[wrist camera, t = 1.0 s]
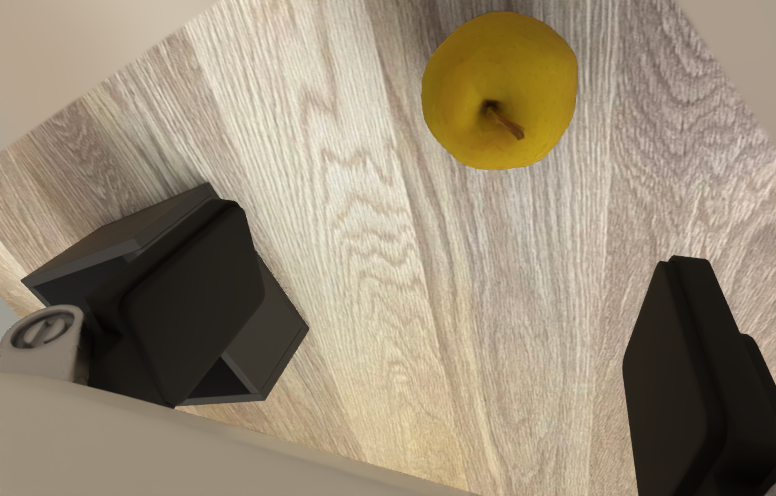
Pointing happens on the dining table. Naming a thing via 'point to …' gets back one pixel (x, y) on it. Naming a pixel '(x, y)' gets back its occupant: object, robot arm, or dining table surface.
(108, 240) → the bin
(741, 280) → the dining table surface
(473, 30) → the apple
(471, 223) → the dining table surface
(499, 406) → the dining table surface
